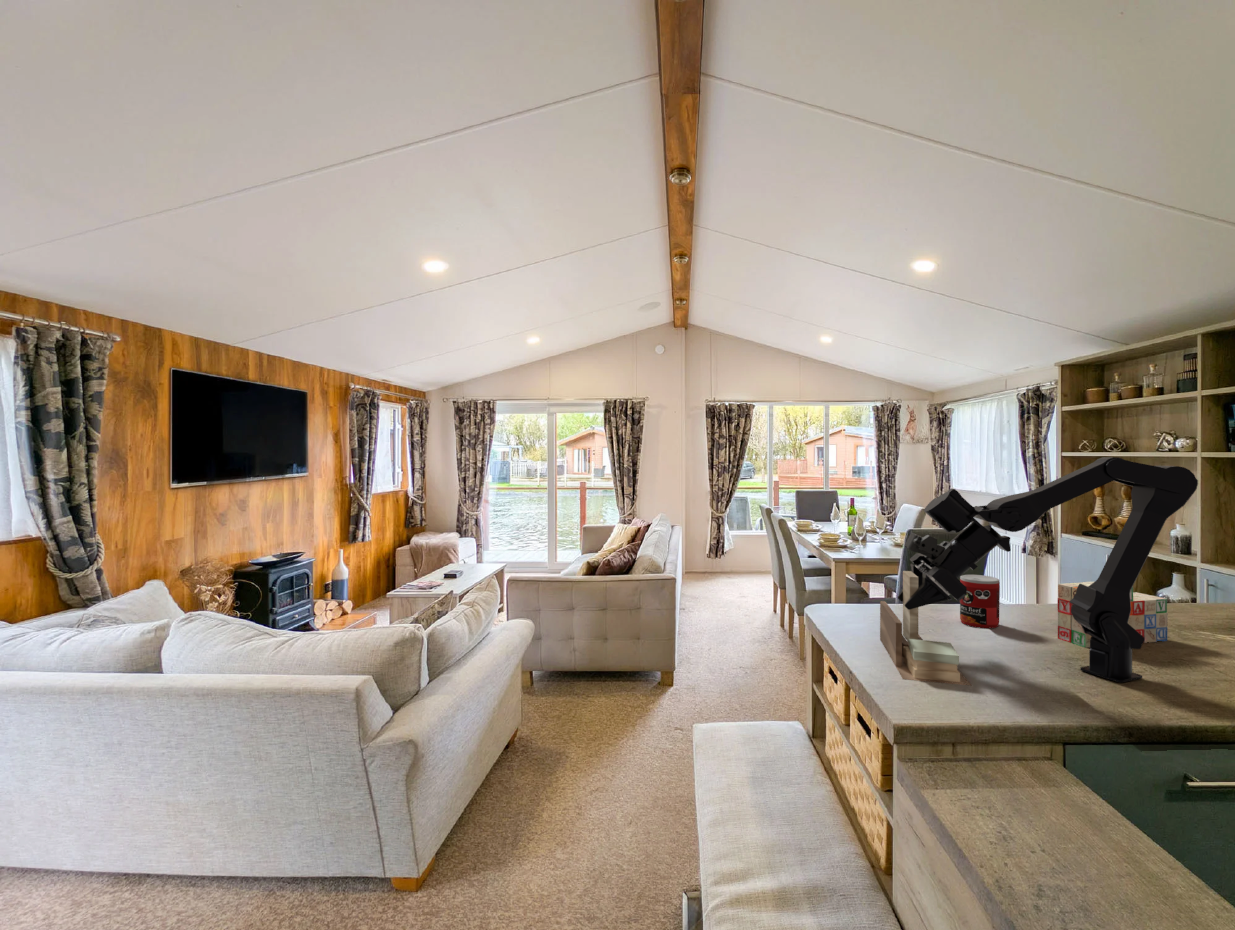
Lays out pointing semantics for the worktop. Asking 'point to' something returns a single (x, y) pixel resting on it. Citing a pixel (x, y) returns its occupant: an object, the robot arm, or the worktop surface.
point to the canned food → (980, 601)
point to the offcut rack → (901, 644)
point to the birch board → (910, 615)
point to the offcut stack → (932, 660)
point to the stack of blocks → (1143, 618)
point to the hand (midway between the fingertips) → (902, 603)
